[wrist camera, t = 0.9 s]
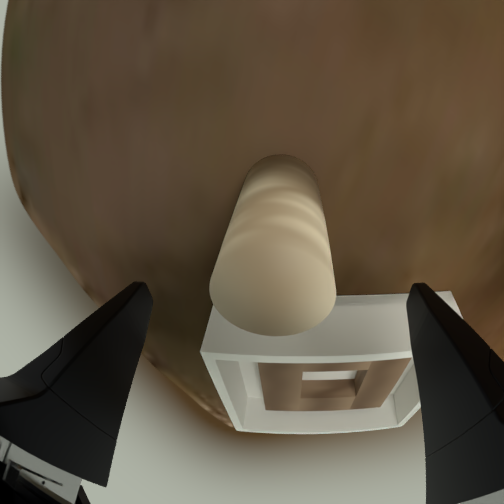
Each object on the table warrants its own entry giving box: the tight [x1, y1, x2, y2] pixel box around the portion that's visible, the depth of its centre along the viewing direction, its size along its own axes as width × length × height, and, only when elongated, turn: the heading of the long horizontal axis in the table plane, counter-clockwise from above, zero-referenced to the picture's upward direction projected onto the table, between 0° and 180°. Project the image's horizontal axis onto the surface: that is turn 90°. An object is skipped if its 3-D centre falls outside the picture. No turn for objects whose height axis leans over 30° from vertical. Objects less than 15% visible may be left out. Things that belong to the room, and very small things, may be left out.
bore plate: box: [258, 357, 412, 411], centre depth 23 cm, size 12×12×2 cm
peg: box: [209, 155, 336, 336], centre depth 12 cm, size 4×4×8 cm
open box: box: [200, 291, 463, 434], centre depth 22 cm, size 18×16×5 cm
